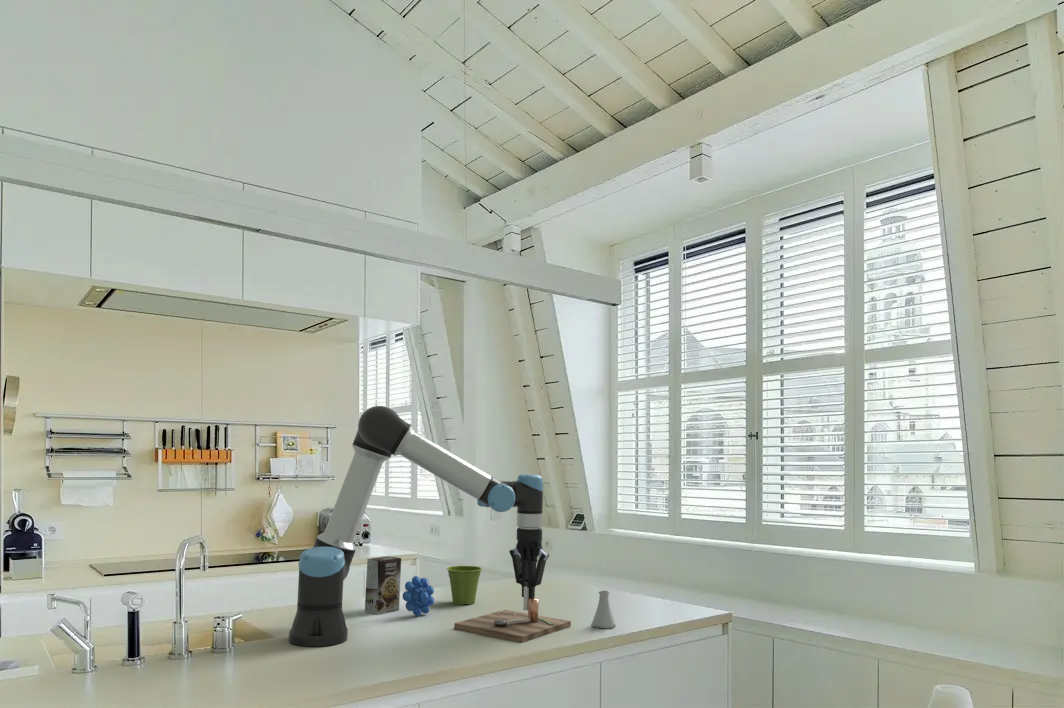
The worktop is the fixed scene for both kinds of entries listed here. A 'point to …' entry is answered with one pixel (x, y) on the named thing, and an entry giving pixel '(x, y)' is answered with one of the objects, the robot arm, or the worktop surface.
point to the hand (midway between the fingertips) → (527, 609)
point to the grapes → (418, 595)
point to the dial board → (512, 626)
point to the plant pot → (464, 583)
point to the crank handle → (532, 616)
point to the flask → (603, 612)
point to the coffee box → (383, 585)
